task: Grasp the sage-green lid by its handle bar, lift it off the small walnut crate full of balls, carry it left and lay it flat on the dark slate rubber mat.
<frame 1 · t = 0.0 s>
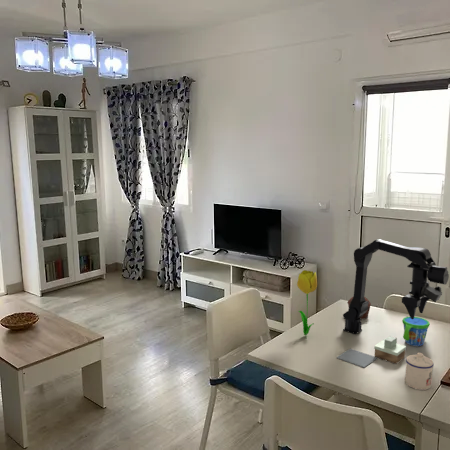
hand: (416, 315, 190), 15 cm above the table, fingers open, 9 cm apart
snack cup: (414, 343, 198), on the table
flower: (305, 336, 206), on the table
crate: (389, 357, 185), on the table
mat: (356, 358, 184), on the table
muffin: (358, 316, 230), on the table
teacup with lid: (417, 382, 166), on the table
lid: (390, 348, 185), point 3 cm above the table, touching crate
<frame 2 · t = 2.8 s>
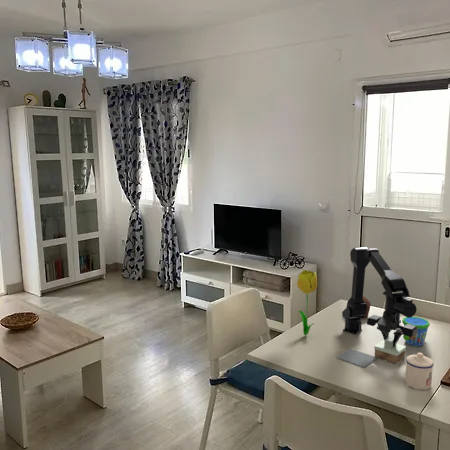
hand: (390, 345, 185), 5 cm above the table, fingers closed on lid, 3 cm apart
lid: (390, 348, 185), point 3 cm above the table, touching crate, gripper
everything else where it was.
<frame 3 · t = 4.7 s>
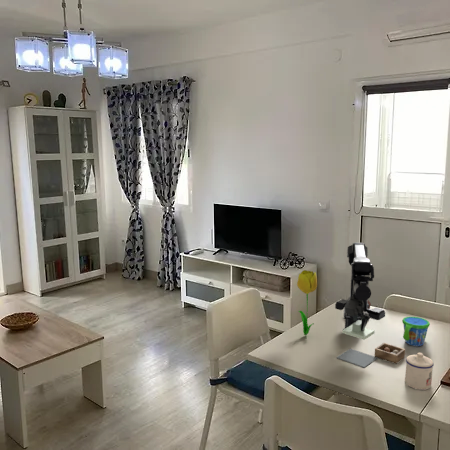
hand: (358, 329, 182), 12 cm above the table, fingers closed on lid, 3 cm apart
lid: (358, 333, 183), point 11 cm above the table, touching gripper
everything else where it was.
when the fingers open (3 cm above the table, at t = 6.9 s): lid stays where it is, resting on mat.
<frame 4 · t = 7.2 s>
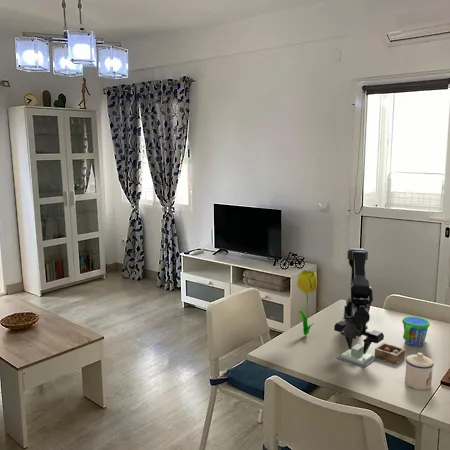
hand: (357, 351, 184), 3 cm above the table, fingers open, 6 cm apart
lid: (357, 357, 184), resting on mat
everything else where it was.
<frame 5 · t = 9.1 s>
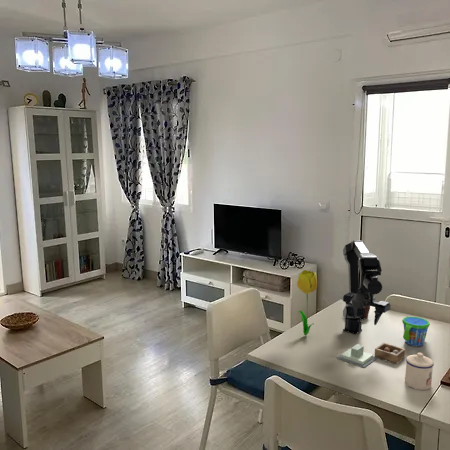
hand: (364, 321, 191), 12 cm above the table, fingers open, 9 cm apart
nothing on the table moved.
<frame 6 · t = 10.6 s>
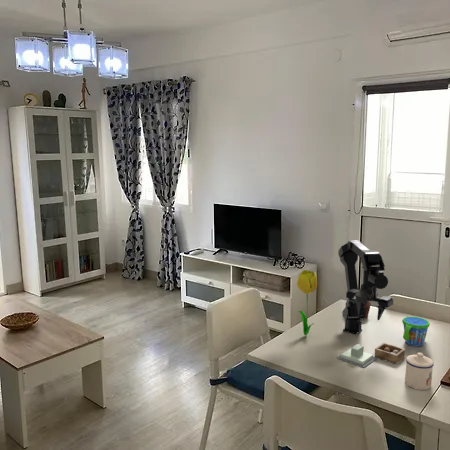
hand: (368, 317, 194), 13 cm above the table, fingers open, 9 cm apart
nothing on the table moved.
at the end: lid inside the target area on the mat (0.0 cm from its centre), point 0.4 cm above the mat's base; lid tilted 0°; lid touching mat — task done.
